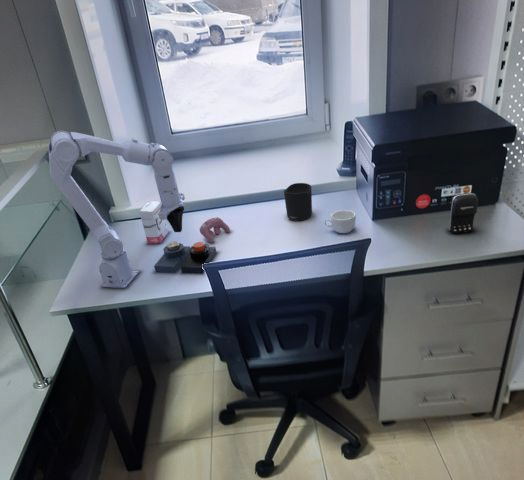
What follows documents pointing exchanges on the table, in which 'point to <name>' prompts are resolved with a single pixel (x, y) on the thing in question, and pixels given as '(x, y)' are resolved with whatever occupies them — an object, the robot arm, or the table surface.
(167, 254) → the left box
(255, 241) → the table surface
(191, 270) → the right box
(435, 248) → the table surface
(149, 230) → the ink box
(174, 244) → the left button
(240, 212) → the table surface
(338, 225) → the teacup
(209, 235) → the pink curved piece
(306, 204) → the pen holder
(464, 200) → the battery charger
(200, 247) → the right button
